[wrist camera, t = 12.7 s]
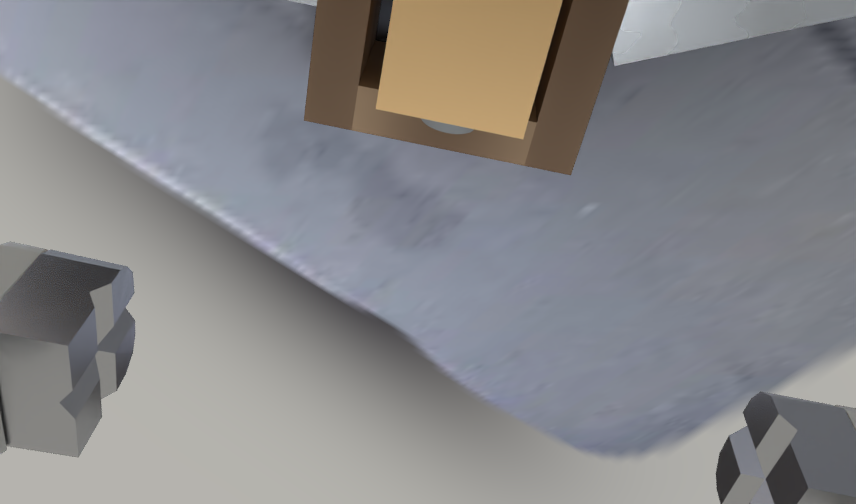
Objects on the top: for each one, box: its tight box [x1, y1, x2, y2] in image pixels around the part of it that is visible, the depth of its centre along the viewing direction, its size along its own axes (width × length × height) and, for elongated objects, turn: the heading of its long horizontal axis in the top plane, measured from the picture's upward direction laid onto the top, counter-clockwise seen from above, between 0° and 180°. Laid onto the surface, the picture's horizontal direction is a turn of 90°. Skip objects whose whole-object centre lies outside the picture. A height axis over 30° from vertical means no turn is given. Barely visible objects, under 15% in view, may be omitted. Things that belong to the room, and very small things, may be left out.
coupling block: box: [376, 0, 563, 139], centre depth 23 cm, size 4×5×7 cm
